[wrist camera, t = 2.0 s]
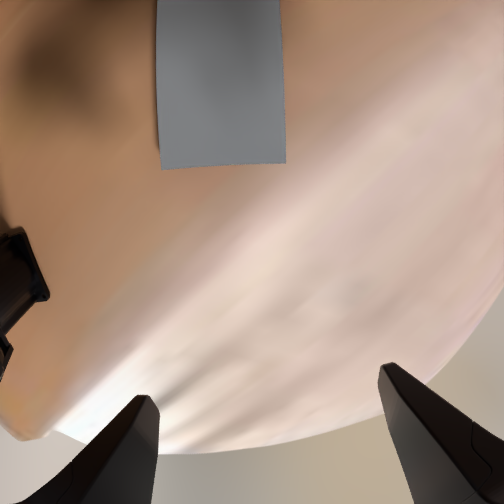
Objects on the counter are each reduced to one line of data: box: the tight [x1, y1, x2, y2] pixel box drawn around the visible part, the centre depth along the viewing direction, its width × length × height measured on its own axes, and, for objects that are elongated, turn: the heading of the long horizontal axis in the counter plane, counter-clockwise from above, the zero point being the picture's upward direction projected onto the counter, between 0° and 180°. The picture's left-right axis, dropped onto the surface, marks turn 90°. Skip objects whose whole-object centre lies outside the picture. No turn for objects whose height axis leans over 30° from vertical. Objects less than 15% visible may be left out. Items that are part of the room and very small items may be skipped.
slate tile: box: [156, 0, 286, 170], centre depth 14 cm, size 14×7×2 cm, turn 2°
